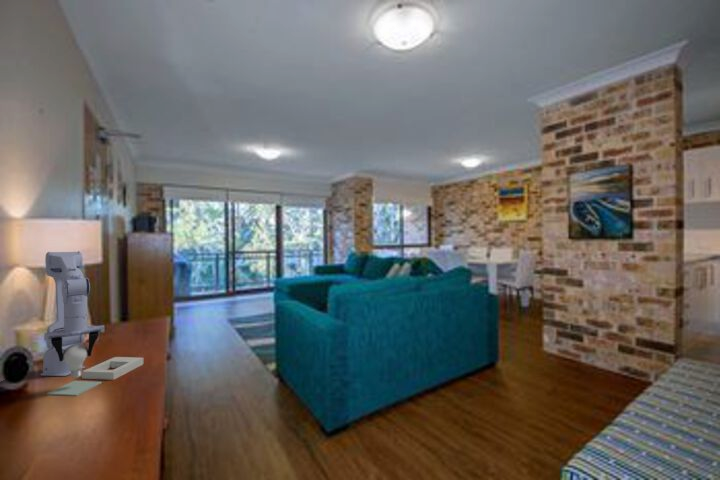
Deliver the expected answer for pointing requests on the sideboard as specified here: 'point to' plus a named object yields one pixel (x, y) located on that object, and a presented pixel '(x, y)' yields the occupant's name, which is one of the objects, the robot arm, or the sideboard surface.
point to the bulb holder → (119, 363)
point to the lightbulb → (75, 358)
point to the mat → (74, 388)
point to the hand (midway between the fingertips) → (75, 357)
